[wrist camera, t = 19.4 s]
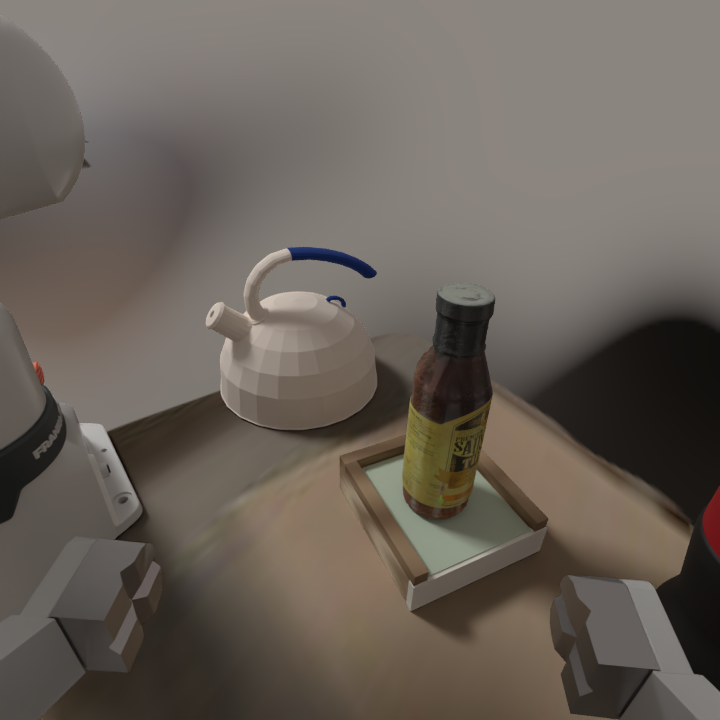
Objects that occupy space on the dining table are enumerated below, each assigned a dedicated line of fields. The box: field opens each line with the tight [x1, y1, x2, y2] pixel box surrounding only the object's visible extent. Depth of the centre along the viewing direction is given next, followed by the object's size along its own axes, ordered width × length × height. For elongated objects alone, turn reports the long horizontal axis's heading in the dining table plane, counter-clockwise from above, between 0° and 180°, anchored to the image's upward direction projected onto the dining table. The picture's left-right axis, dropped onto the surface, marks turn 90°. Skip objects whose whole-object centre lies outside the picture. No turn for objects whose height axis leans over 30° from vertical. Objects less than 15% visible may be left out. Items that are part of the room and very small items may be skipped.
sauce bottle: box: [402, 283, 495, 519], centre depth 40 cm, size 6×6×20 cm
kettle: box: [206, 247, 377, 430], centre depth 60 cm, size 20×21×18 cm
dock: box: [340, 435, 548, 612], centre depth 46 cm, size 14×13×4 cm
